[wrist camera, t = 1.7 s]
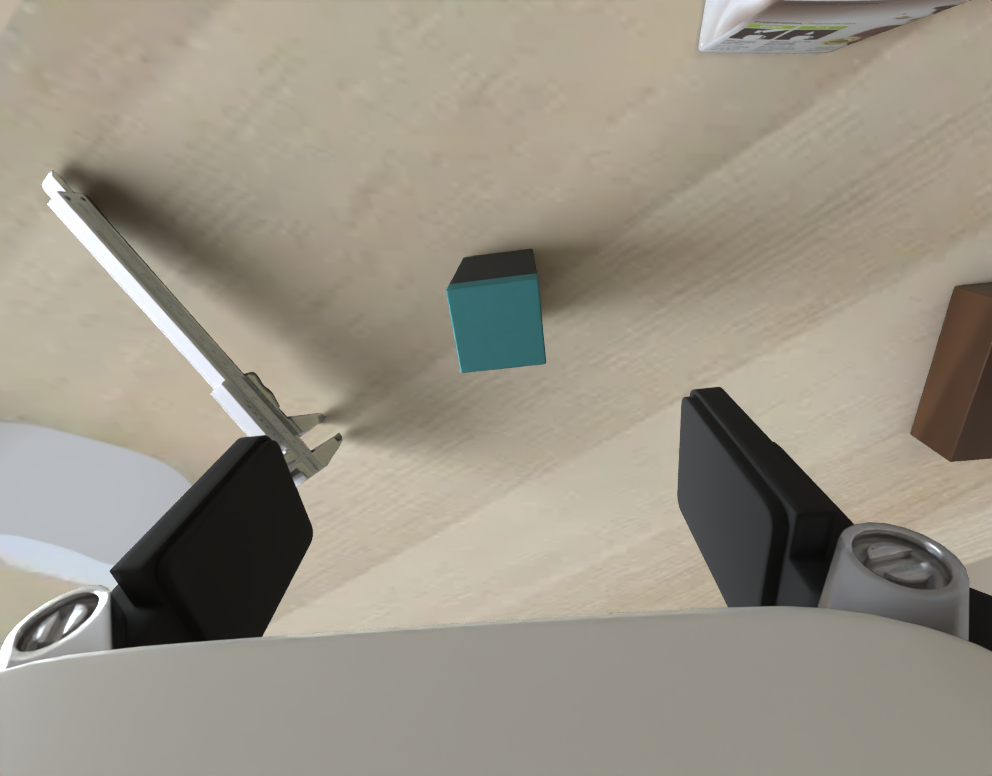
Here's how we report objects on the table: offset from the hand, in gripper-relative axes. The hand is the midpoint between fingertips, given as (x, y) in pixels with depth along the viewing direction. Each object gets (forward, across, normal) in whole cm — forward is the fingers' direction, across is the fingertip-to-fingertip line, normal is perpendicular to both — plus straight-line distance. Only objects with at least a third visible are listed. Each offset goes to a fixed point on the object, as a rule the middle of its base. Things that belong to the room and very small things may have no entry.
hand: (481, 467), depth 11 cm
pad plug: (+17, 0, 0) cm, 17 cm away
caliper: (+17, +17, 0) cm, 24 cm away
